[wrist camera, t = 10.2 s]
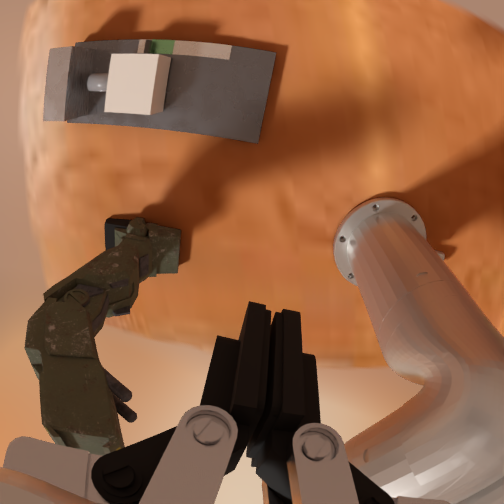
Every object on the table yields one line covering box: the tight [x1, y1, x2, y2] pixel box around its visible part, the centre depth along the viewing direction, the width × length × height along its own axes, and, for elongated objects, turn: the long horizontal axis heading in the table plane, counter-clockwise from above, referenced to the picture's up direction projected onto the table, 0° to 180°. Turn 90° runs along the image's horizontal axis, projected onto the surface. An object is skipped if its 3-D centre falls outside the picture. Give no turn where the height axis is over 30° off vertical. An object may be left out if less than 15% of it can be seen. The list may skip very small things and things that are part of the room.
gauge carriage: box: [87, 40, 171, 115], centre depth 27 cm, size 8×8×4 cm
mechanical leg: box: [25, 217, 181, 456], centre depth 28 cm, size 14×7×30 cm, turn 80°
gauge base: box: [43, 39, 276, 144], centre depth 28 cm, size 23×10×6 cm, turn 80°
